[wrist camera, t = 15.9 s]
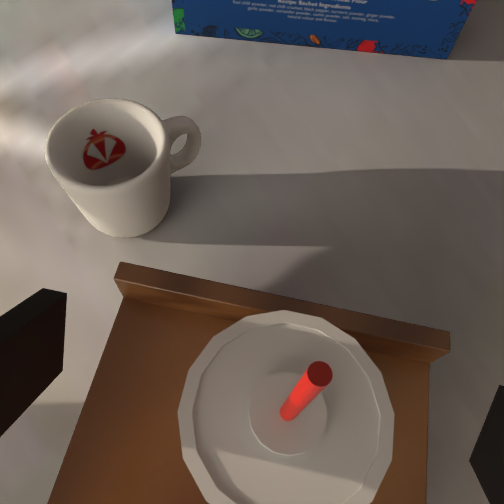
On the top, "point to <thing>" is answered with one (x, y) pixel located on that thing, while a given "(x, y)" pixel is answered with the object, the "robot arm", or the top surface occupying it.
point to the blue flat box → (331, 23)
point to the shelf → (174, 377)
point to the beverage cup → (285, 415)
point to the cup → (119, 162)
